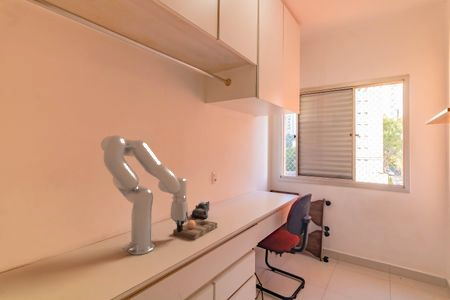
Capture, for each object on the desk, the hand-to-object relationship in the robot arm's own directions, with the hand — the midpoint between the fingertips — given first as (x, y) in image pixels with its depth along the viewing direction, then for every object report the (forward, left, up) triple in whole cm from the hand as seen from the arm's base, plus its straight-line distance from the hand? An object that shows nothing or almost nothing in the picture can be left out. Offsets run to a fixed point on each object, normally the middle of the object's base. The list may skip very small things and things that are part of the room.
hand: (179, 231), depth 128 cm
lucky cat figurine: (+38, +14, -4) cm, 41 cm away
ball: (+9, -1, +2) cm, 9 cm away
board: (+14, -1, -4) cm, 14 cm away
